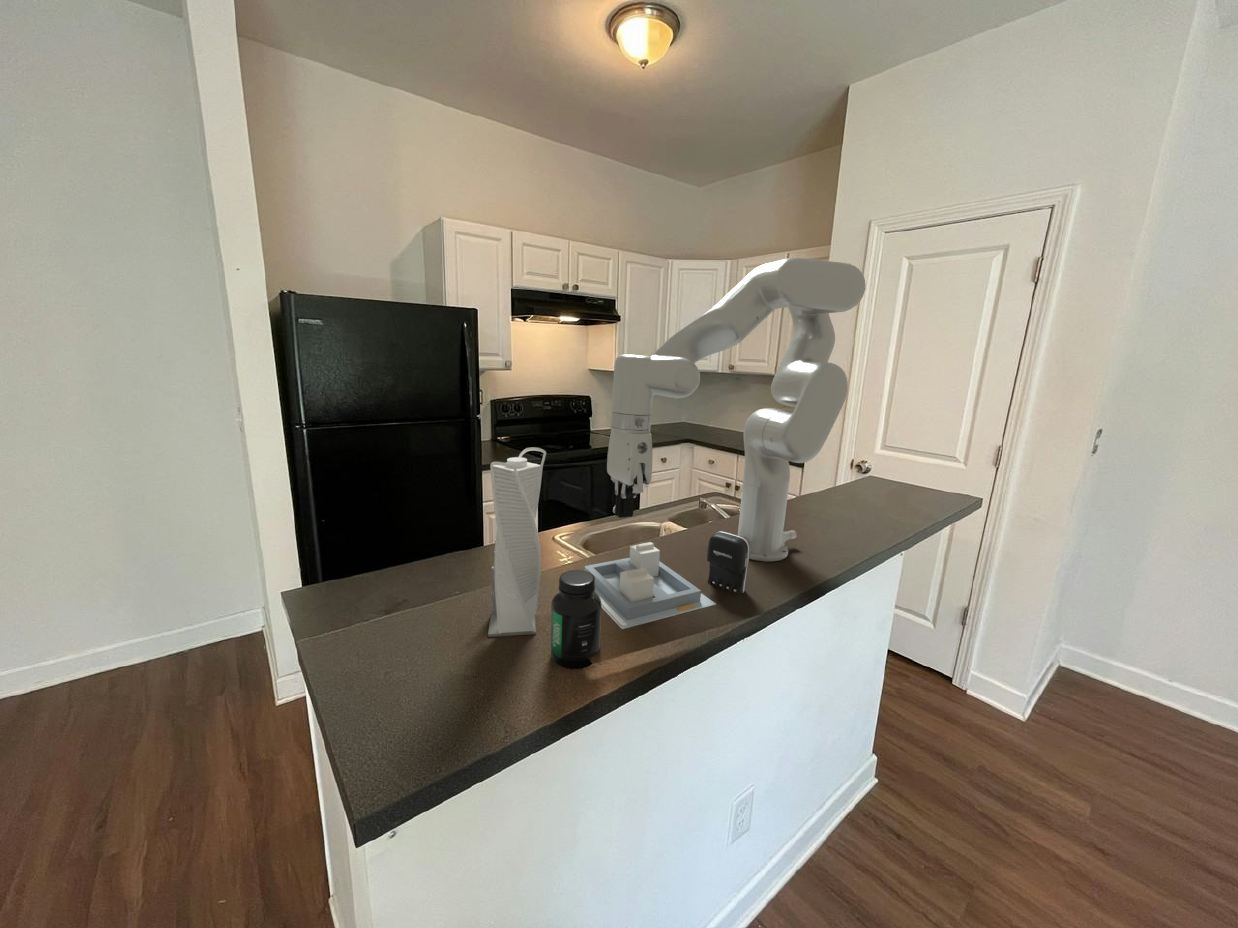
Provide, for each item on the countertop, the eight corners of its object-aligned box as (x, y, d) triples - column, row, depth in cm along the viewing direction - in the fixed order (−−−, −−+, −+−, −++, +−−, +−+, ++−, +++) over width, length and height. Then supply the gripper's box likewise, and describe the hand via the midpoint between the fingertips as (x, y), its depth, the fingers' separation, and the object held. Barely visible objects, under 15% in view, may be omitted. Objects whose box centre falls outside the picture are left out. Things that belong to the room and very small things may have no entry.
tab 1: (647, 567, 93) (648, 538, 92) (658, 575, 90) (660, 546, 89) (628, 570, 92) (630, 542, 90) (639, 579, 88) (641, 549, 87)
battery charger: (700, 592, 88) (705, 533, 85) (711, 585, 91) (716, 528, 88) (735, 606, 84) (742, 544, 81) (745, 598, 86) (752, 538, 84)
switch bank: (652, 564, 98) (653, 548, 98) (715, 612, 81) (717, 593, 81) (570, 581, 90) (570, 564, 89) (621, 637, 73) (622, 616, 72)
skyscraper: (544, 609, 80) (545, 442, 74) (545, 637, 72) (547, 454, 66) (491, 612, 79) (488, 442, 72) (487, 641, 71) (483, 453, 64)
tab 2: (639, 595, 82) (641, 563, 81) (652, 606, 79) (654, 573, 78) (618, 600, 81) (620, 567, 79) (630, 611, 77) (632, 578, 76)
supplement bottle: (552, 673, 64) (553, 590, 62) (549, 643, 71) (549, 567, 68) (603, 668, 66) (606, 587, 63) (595, 639, 72) (597, 565, 70)
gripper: (670, 428, 86) (661, 526, 90) (628, 417, 99) (622, 503, 103) (633, 429, 82) (625, 531, 86) (595, 416, 95) (590, 506, 99)
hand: (623, 515), depth 94 cm, fingers closed
